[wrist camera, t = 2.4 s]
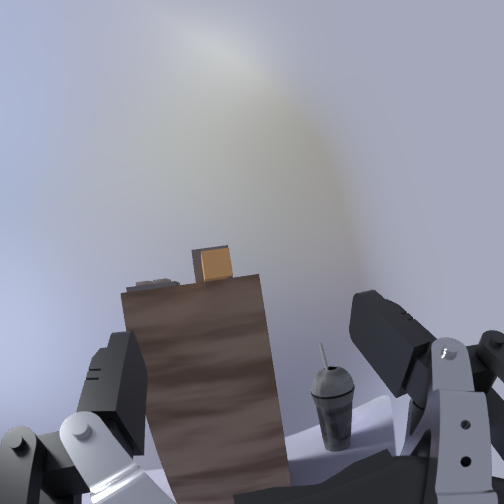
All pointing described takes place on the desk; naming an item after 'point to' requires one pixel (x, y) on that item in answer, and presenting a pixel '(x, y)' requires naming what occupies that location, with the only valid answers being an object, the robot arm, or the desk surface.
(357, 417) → the desk surface
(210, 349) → the brown wooden tall block
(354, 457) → the desk surface
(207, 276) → the mallet
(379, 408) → the desk surface
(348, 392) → the beverage cup
